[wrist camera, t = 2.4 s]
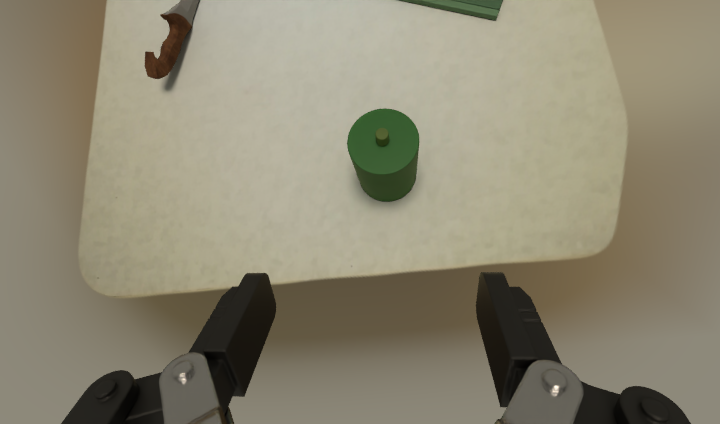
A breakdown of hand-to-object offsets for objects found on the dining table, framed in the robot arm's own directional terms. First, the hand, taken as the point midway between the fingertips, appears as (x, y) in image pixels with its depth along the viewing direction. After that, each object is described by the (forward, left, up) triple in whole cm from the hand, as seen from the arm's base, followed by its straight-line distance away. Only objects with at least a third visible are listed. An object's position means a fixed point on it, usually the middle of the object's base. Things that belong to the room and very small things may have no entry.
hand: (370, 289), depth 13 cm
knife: (+35, -27, -19) cm, 48 cm away
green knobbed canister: (+4, -11, -19) cm, 22 cm away
